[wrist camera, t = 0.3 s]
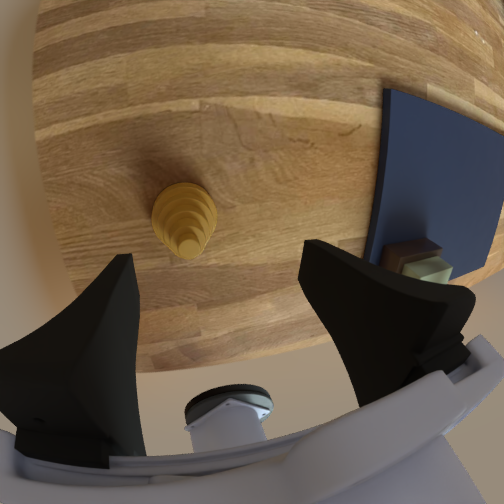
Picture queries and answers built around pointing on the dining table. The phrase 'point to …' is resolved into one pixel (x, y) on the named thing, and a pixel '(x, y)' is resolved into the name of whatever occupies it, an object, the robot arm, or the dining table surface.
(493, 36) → the dining table surface
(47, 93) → the dining table surface
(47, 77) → the dining table surface
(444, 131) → the board
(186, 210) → the cone
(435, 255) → the block stack
